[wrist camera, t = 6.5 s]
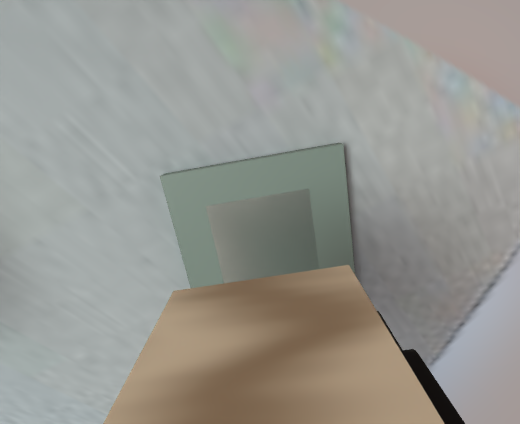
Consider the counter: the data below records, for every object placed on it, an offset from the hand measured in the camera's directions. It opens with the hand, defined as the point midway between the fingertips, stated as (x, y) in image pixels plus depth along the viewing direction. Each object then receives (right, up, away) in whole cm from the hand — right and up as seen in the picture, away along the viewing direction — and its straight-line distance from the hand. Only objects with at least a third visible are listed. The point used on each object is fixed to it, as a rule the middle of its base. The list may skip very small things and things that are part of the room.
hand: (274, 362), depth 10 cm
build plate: (0, +3, +11) cm, 12 cm away
